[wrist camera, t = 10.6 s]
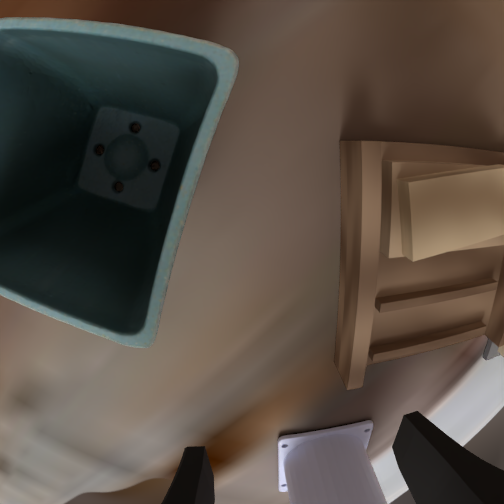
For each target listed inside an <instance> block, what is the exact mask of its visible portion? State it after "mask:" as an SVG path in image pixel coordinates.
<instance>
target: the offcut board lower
mask: <svg viewBox="0 0 504 504" xmlns="http://www.w3.org/2000/svg"><path fill="white" fill-rule="evenodd" d="M482 166H485V165H474V164H460V163H445V162H426V161H396V160H382V197H381V230H380V249H379V251H380V252H381V253H383V254H384V255H385V256H386V257H388V258H396V257H405V256H404V255H403V254H402V243H401V225H400V211H399V199H398V189H397V179H402V178H408V177H414V176H420V175H427V174H433V173H440V172H446V171H453V170H460V169H467V168H474V167H482ZM499 245H504V235H501V236H498V237H495V238H491V239H488V240H485V241H482V242H479V243H475V244H472V245H469V246H465V247H462V248H459V249H455V250H452V251H458V250H467V249H475V248H483V247H491V246H499ZM449 252H450V251H449Z"/></svg>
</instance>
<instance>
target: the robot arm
mask: <svg viewBox="0 0 504 504" xmlns="http://www.w3.org/2000/svg"><path fill="white" fill-rule="evenodd" d="M372 429H373V422H372V421H371V420H367V421H363V422H359V423H354V424H349V425H345V426H340V427H335V428H329V429H324V430H318V431H312V432H306V433H300V434H293V435H285V436H281V437H279V438H278V488H279V491H281V492H286V491H288V494H289V500H290V504H387V501H386V499H385V496H384V494H383V492H382V489H381V487H380V484H379V482H378V479H377V477H376V474H375V472H374V469H373V467H372V465H371V462H370V460H369V457H368V455H367V452H366V449H367V446H368V442H369V439H370V436H371V432H372ZM392 448H393V451H394V454H395V458H396V461H397V464H398V467H399V469H400V471H401V473H402V476H403V478H404V480H405V482H406V484H407V486H408V488H409V490H410V492H411V494H412V496H413V498H414V500H415V502H416V504H504V471H503V470H501V469H499V468H497V467H495V466H493V465H491V464H489V463H487V462H486V461H484V460H482V459H480V458H479V457H477V456H476V455H474V454H473V453H471V452H469V451H468V450H466V449H465V448H464V447H462V446H461V445H460V444H458V443H457V442H456V441H454V440H453V439H452V438H450V437H449V436H448V435H446V434H445V433H444V432H443V431H441V430H440V429H439V428H438V427H436V426H435V425H434V424H433V423H432V422H430V421H429V420H428V419H427V418H426V417H424V416H423V415H422V414H421V413H419V412H418V411H416V412H413V413H409V414H406V415H404V416H403V419H402V422H401V425H400V427H399V430H398V433H397V436H396V438H395V441H394V443H393V446H392ZM214 502H215V495H214V475H213V472H212V469H211V466H210V462H209V459H208V456H207V452H206V449H205V446H201V447H186V448H185V450H184V453H183V456H182V459H181V462H180V465H179V467H178V470H177V472H176V475H175V477H174V479H173V481H172V484H171V486H170V488H169V490H168V492H167V494H166V496H165V498H164V500H163V502H162V503H161V504H214Z"/></svg>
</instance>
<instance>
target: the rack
mask: <svg viewBox="0 0 504 504" xmlns="http://www.w3.org/2000/svg"><path fill="white" fill-rule="evenodd" d="M382 160H396V161H426V162H445V163H460V164H474V165H485V166H489V165H497V164H501V165H504V153H503V152H496V151H489V150H482V149H473V148H465V147H455V146H445V145H433V144H420V143H404V142H383V141H340V170H341V253H340V282H339V302H338V319H337V333H336V346H335V357H334V362H335V365H336V367H337V369H338V371H339V373H340V375H341V378H342V380H343V382H344V384H345V386H346V388H347V390H351V389H356V388H361V387H363V382H364V376H365V370H366V365H371V364H376V363H380V362H385V361H390V360H394V359H399V358H403V357H407V356H411V355H415V354H419V353H423V352H427V351H431V350H435V349H439V348H442V347H446V346H449V345H453V344H456V343H460V342H463V341H466V340H470V339H473V338H476V337H479V336H482V335H486V336H487V337H488V338H489V339H490V340H491V341H492V342H493V343H494V344H496V345H497V346H498V347H501V346H503V345H504V245H499V246H491V247H483V248H475V249H467V250H458V251H450V252H445V253H442V254H438V255H435V256H431V257H428V258H424V259H421V260H417V261H414V262H413V261H411V260H410V259H408V258H407V257H406V256H405V257H396V258H388V257H386V256H385V255H384V254H383V253H381V252H380V251H379V249H380V230H381V197H382Z"/></svg>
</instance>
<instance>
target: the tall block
mask: <svg viewBox="0 0 504 504" xmlns="http://www.w3.org/2000/svg"><path fill="white" fill-rule="evenodd" d="M498 352H499V353H500V354H501V355H502V356H503V357H504V345H503V346H501V347H499V348H498Z"/></svg>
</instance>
